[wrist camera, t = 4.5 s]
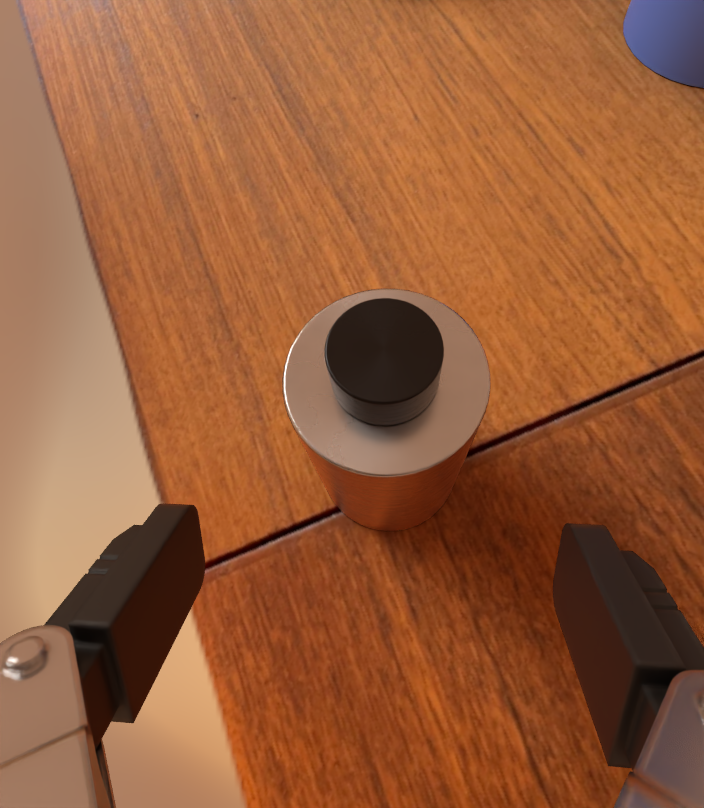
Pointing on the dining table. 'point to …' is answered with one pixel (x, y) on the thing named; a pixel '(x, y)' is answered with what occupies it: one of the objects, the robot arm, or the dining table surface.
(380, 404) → the flask
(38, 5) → the dining table surface
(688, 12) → the water bottle
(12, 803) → the robot arm
